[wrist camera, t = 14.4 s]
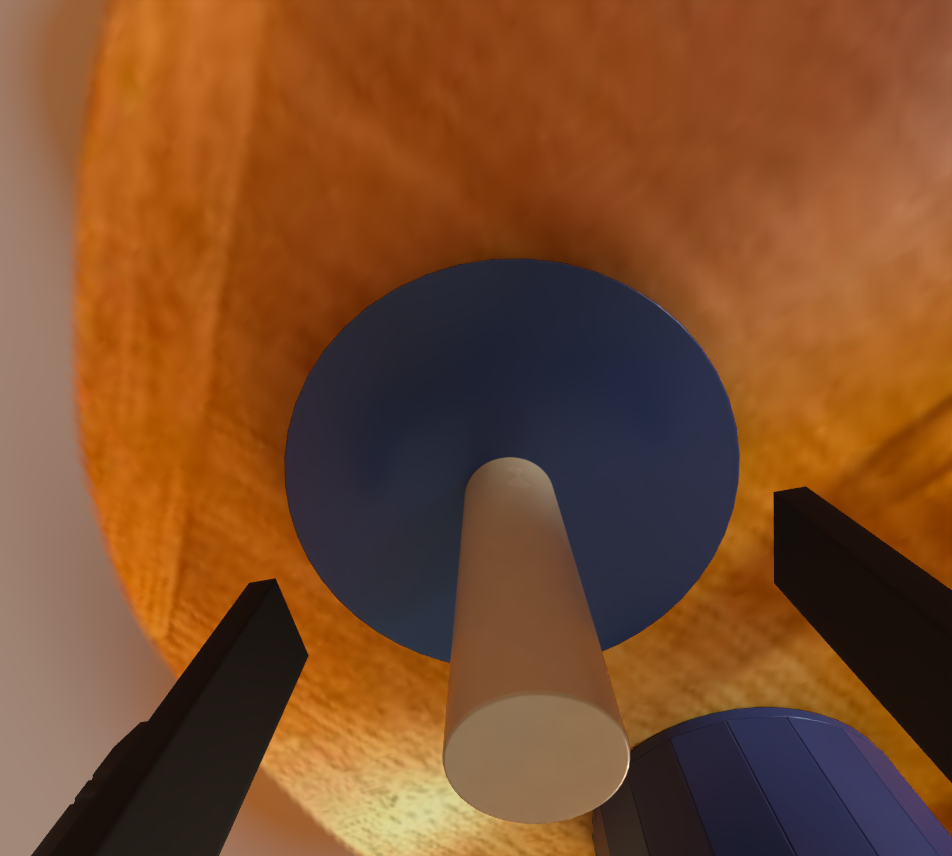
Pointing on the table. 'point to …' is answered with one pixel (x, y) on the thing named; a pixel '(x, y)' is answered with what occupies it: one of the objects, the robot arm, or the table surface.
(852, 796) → the saucepan
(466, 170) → the table surface
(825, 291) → the table surface
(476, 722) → the lid
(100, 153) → the table surface
